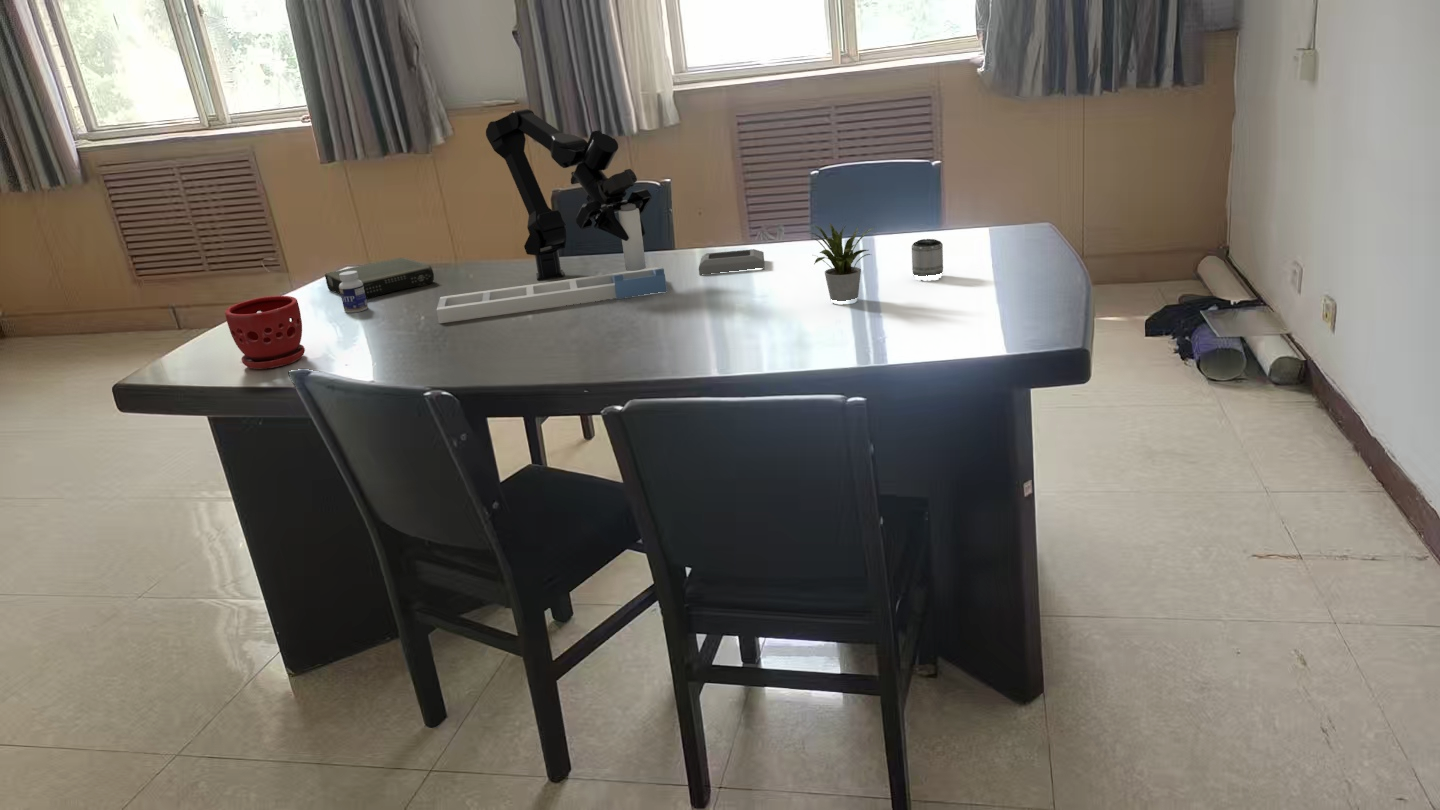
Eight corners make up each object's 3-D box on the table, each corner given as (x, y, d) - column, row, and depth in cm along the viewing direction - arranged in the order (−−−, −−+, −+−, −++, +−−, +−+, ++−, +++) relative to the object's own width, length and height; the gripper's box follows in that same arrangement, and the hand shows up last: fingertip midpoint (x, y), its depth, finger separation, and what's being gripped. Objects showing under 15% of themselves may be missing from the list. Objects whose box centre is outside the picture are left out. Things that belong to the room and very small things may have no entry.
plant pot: (225, 372, 195) (208, 313, 190) (275, 351, 206) (260, 294, 202) (277, 374, 190) (261, 313, 186) (325, 352, 201) (311, 294, 197)
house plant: (787, 306, 200) (781, 224, 194) (829, 289, 209) (824, 210, 203) (846, 314, 190) (841, 228, 185) (887, 296, 199) (884, 214, 194)
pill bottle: (339, 313, 232) (330, 275, 229) (355, 306, 237) (346, 269, 234) (358, 313, 230) (349, 275, 227) (373, 307, 235) (364, 269, 232)
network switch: (402, 273, 271) (398, 255, 269) (447, 282, 255) (443, 262, 253) (318, 294, 256) (314, 275, 254) (360, 305, 240) (356, 284, 238)
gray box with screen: (763, 255, 231) (697, 261, 232) (764, 271, 232) (699, 277, 233) (763, 247, 239) (700, 252, 241) (764, 262, 241) (701, 267, 242)
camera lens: (920, 273, 214) (919, 237, 211) (948, 275, 211) (947, 238, 208) (907, 281, 210) (906, 243, 207) (935, 282, 206) (934, 244, 203)
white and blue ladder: (443, 309, 225) (438, 287, 224) (659, 279, 232) (656, 257, 231) (438, 324, 213) (434, 300, 212) (667, 292, 220) (664, 269, 218)
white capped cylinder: (623, 271, 223) (615, 207, 218) (628, 266, 227) (620, 204, 222) (643, 270, 222) (635, 206, 217) (647, 265, 226) (640, 202, 221)
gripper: (576, 166, 213) (617, 221, 209) (641, 152, 225) (681, 204, 221) (558, 201, 221) (598, 255, 217) (622, 187, 233) (660, 237, 229)
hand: (635, 237), depth 221 cm, fingers closed on white capped cylinder, 4 cm apart
